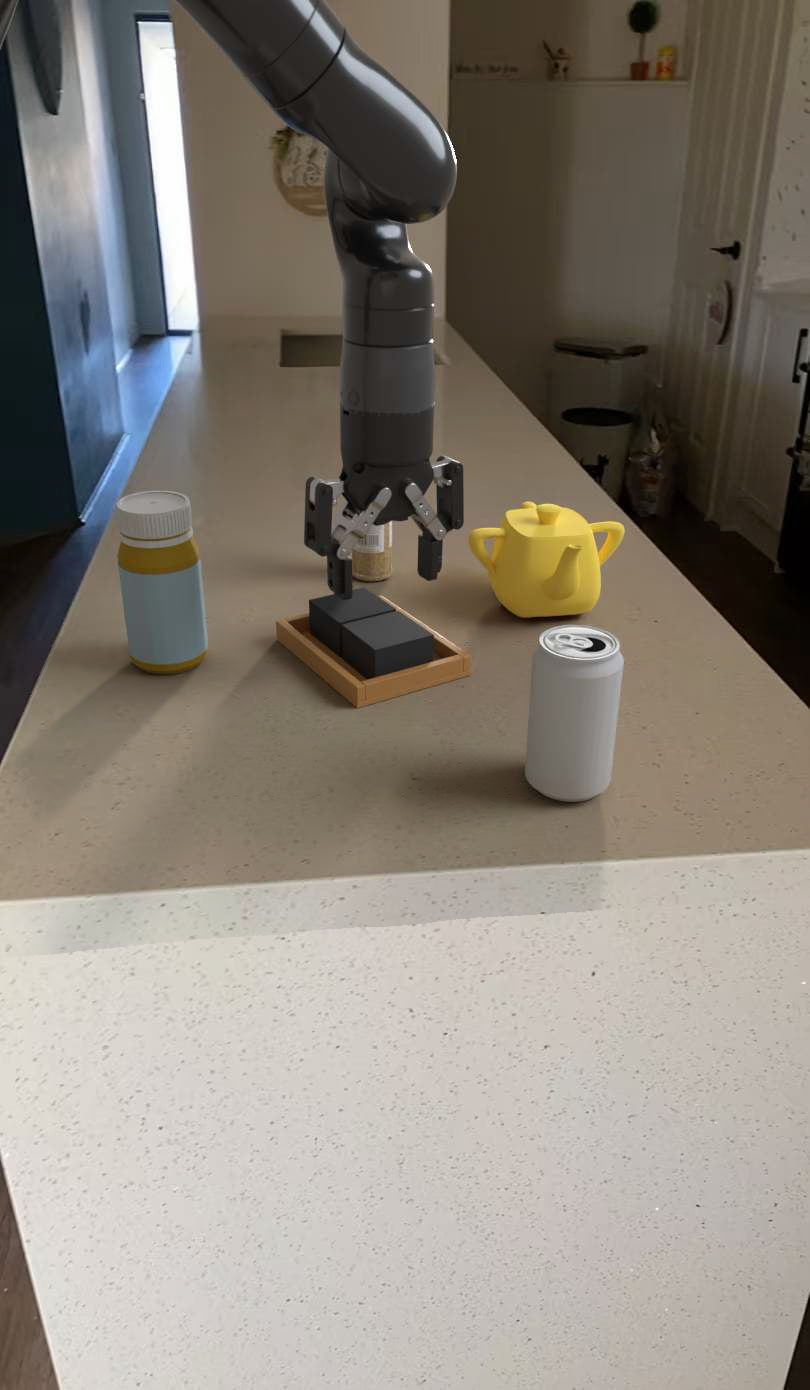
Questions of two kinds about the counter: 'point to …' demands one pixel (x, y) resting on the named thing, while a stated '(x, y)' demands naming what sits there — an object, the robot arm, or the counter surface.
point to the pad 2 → (386, 644)
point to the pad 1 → (342, 615)
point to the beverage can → (573, 712)
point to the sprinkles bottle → (373, 553)
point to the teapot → (545, 559)
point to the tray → (365, 692)
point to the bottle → (161, 582)
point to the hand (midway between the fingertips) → (385, 587)
